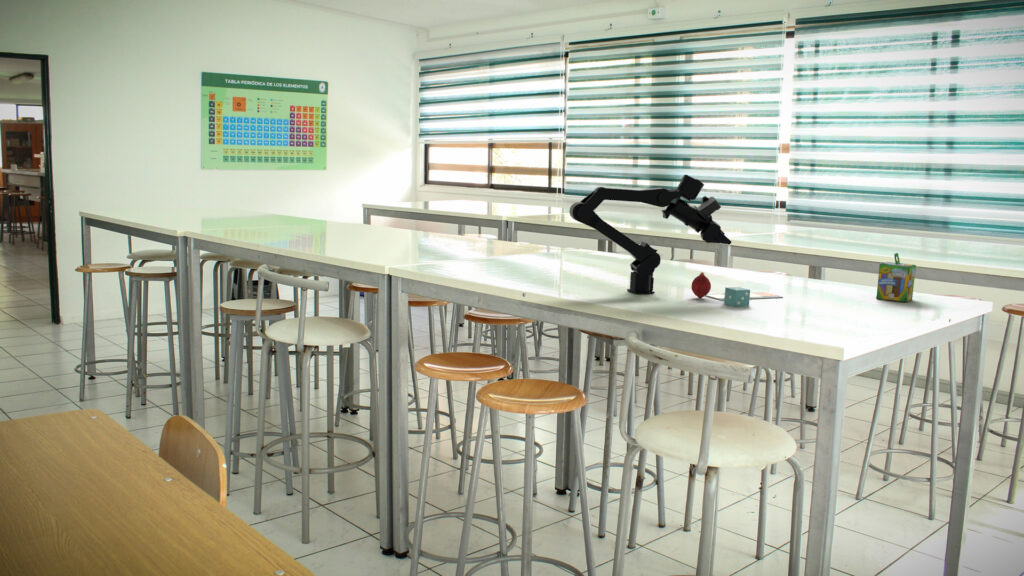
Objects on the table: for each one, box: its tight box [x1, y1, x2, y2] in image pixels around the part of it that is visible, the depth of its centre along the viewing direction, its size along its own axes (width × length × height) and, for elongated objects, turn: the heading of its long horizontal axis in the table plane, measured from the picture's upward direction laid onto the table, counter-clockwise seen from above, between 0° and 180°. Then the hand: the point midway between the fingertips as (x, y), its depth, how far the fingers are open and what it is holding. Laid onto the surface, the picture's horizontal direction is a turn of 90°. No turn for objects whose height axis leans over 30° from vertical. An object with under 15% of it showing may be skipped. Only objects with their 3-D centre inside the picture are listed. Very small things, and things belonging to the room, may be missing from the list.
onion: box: [691, 271, 712, 299], centre depth 240 cm, size 6×6×8 cm
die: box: [723, 286, 751, 308], centre depth 231 cm, size 5×5×5 cm
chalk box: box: [875, 252, 917, 303], centre depth 252 cm, size 9×9×15 cm
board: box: [704, 291, 784, 301], centre depth 247 cm, size 24×9×1 cm, turn 113°
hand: (727, 238), depth 247 cm, fingers open, 9 cm apart
